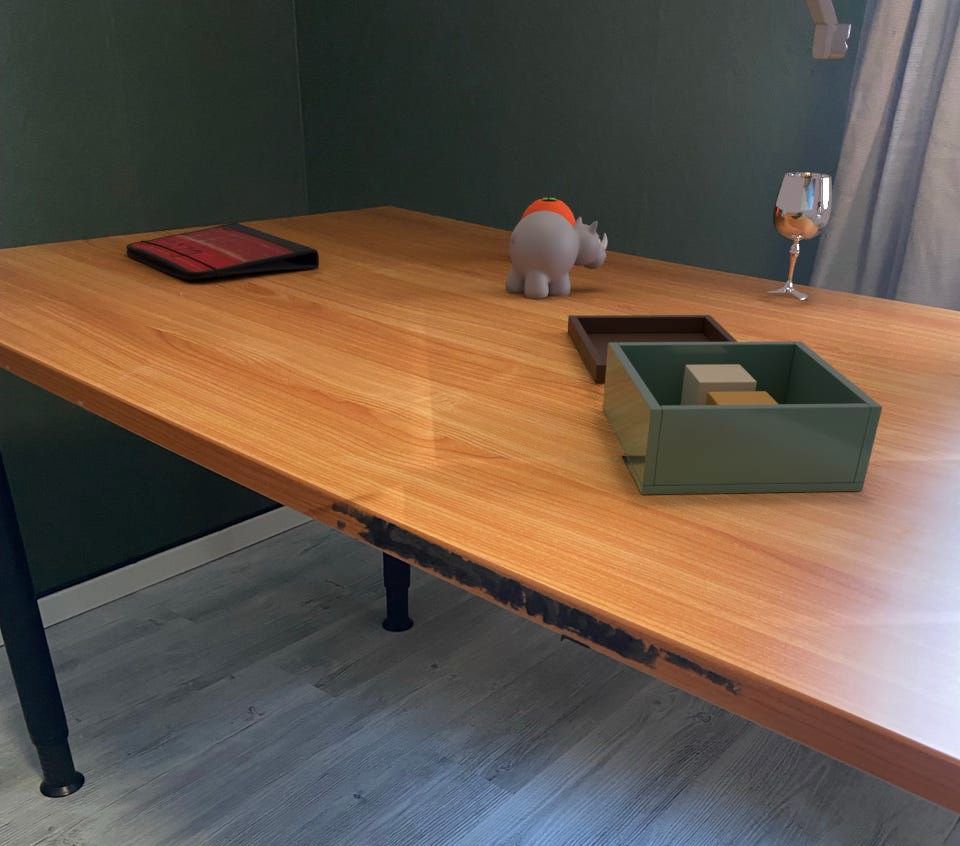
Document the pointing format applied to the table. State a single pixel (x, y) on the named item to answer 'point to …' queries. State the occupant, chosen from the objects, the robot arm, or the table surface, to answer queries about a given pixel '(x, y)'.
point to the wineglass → (801, 214)
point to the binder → (222, 252)
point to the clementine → (551, 208)
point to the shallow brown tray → (636, 334)
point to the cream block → (713, 381)
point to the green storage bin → (738, 421)
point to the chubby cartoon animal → (551, 253)
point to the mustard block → (740, 398)
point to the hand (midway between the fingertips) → (904, 57)
